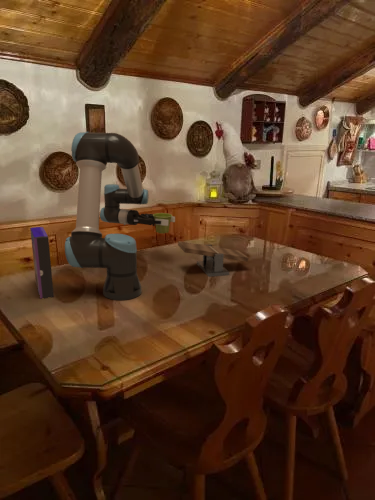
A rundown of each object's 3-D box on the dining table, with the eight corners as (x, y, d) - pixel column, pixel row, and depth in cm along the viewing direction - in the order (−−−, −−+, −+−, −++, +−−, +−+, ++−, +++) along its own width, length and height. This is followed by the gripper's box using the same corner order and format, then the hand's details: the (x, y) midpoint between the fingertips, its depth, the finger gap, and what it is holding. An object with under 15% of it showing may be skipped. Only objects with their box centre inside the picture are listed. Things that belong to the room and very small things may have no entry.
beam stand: (229, 274, 165) (230, 254, 163) (208, 276, 163) (209, 255, 160) (215, 262, 182) (216, 243, 179) (196, 264, 179) (197, 244, 176)
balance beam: (237, 254, 181) (238, 250, 180) (247, 261, 170) (248, 257, 169) (177, 245, 170) (178, 241, 170) (184, 252, 159) (185, 248, 159)
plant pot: (172, 230, 181) (172, 213, 179) (171, 234, 172) (172, 217, 170) (153, 229, 181) (153, 212, 178) (152, 234, 172) (152, 216, 169)
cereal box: (35, 283, 150) (30, 227, 143) (48, 281, 152) (42, 226, 146) (40, 299, 136) (34, 238, 129) (53, 297, 138) (48, 236, 131)
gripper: (138, 220, 191) (178, 224, 184) (119, 228, 172) (163, 233, 165) (138, 206, 189) (179, 210, 182) (119, 213, 170) (163, 217, 163)
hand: (171, 221), depth 174 cm, fingers closed on plant pot, 8 cm apart
